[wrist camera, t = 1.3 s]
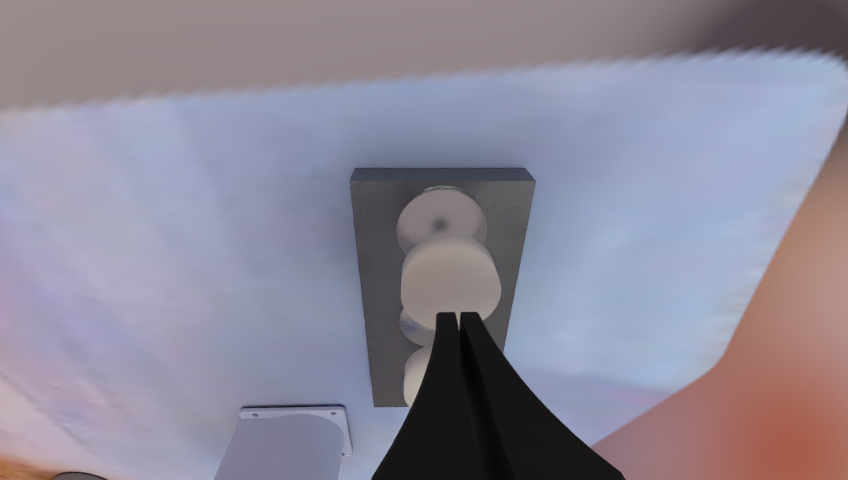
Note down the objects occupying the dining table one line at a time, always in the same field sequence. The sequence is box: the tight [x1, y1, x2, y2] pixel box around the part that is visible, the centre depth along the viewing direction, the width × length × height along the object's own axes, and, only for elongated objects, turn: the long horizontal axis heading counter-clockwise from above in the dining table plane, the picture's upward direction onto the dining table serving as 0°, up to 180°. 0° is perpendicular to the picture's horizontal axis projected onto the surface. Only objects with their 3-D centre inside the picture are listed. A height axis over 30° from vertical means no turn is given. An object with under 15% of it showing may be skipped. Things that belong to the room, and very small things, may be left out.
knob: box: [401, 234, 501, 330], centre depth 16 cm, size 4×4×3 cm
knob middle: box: [404, 344, 433, 408], centre depth 20 cm, size 4×4×3 cm
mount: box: [350, 168, 536, 407], centre depth 24 cm, size 10×20×2 cm, turn 179°
